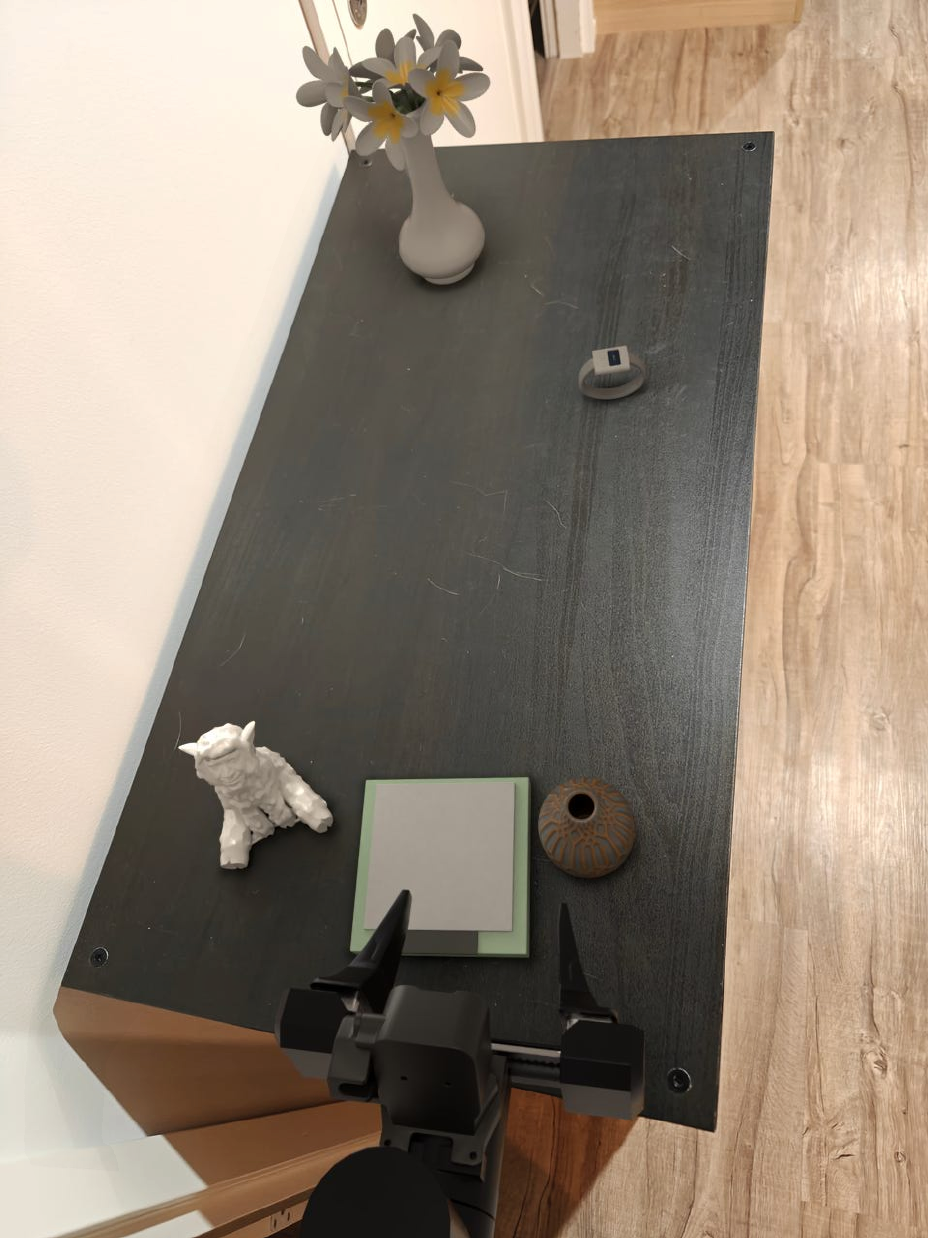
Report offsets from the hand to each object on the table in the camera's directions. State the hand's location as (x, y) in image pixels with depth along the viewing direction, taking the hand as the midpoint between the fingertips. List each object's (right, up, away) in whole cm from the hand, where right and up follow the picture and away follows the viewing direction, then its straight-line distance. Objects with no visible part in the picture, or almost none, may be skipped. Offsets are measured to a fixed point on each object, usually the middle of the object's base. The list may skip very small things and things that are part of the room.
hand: (484, 899), depth 54 cm
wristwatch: (+13, +38, +36) cm, 54 cm away
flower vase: (-4, +54, +49) cm, 73 cm away
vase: (+8, -1, +17) cm, 19 cm away
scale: (-3, -3, +18) cm, 18 cm away
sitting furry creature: (-17, +1, +23) cm, 29 cm away
